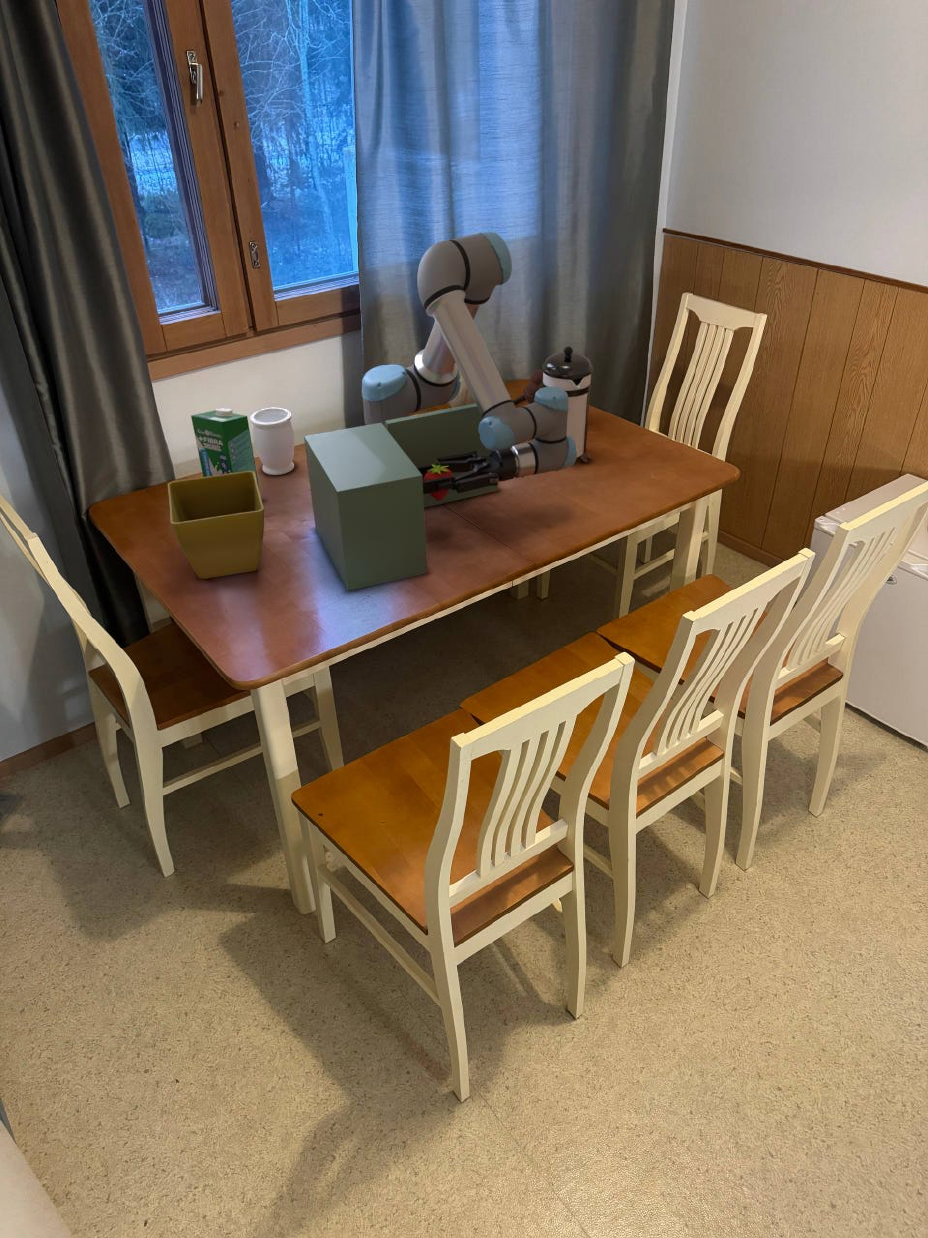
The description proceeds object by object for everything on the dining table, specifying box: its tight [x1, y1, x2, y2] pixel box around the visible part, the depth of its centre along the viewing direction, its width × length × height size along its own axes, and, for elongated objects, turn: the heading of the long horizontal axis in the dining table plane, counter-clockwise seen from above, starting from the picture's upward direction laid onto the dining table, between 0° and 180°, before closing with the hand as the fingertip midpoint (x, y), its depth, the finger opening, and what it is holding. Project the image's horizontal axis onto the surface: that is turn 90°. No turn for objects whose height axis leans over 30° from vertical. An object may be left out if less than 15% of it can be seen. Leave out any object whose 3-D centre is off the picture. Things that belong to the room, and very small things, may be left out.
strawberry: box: [423, 460, 453, 501], centre depth 208 cm, size 6×8×10 cm
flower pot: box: [167, 471, 265, 580], centre depth 204 cm, size 19×19×17 cm
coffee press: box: [541, 346, 594, 463], centre depth 241 cm, size 17×16×30 cm
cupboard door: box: [385, 403, 499, 509], centre depth 225 cm, size 8×28×24 cm, turn 114°
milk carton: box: [190, 407, 261, 493], centre depth 222 cm, size 9×9×25 cm
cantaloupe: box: [447, 366, 475, 408], centre depth 269 cm, size 15×15×15 cm
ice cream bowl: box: [522, 368, 543, 405], centre depth 262 cm, size 11×11×15 cm
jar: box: [249, 407, 295, 476], centre depth 241 cm, size 11×10×15 cm
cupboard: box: [303, 423, 428, 592], centre depth 204 cm, size 18×28×24 cm, turn 21°
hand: (416, 481), depth 206 cm, fingers closed on strawberry, 6 cm apart
